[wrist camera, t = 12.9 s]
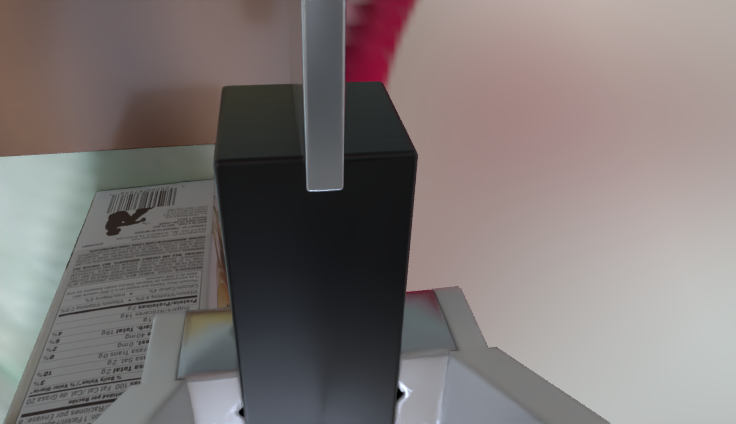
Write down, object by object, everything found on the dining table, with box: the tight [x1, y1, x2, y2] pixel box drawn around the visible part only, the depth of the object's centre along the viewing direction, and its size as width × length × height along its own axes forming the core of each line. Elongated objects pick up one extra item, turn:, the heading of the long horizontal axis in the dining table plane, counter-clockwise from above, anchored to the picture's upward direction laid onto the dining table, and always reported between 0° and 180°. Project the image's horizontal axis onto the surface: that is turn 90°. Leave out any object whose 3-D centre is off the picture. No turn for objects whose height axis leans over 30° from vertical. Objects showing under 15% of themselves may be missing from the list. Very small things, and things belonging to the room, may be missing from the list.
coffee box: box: [3, 179, 231, 424], centre depth 26 cm, size 9×6×16 cm
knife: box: [213, 0, 418, 424], centre depth 8 cm, size 2×17×3 cm, turn 178°
